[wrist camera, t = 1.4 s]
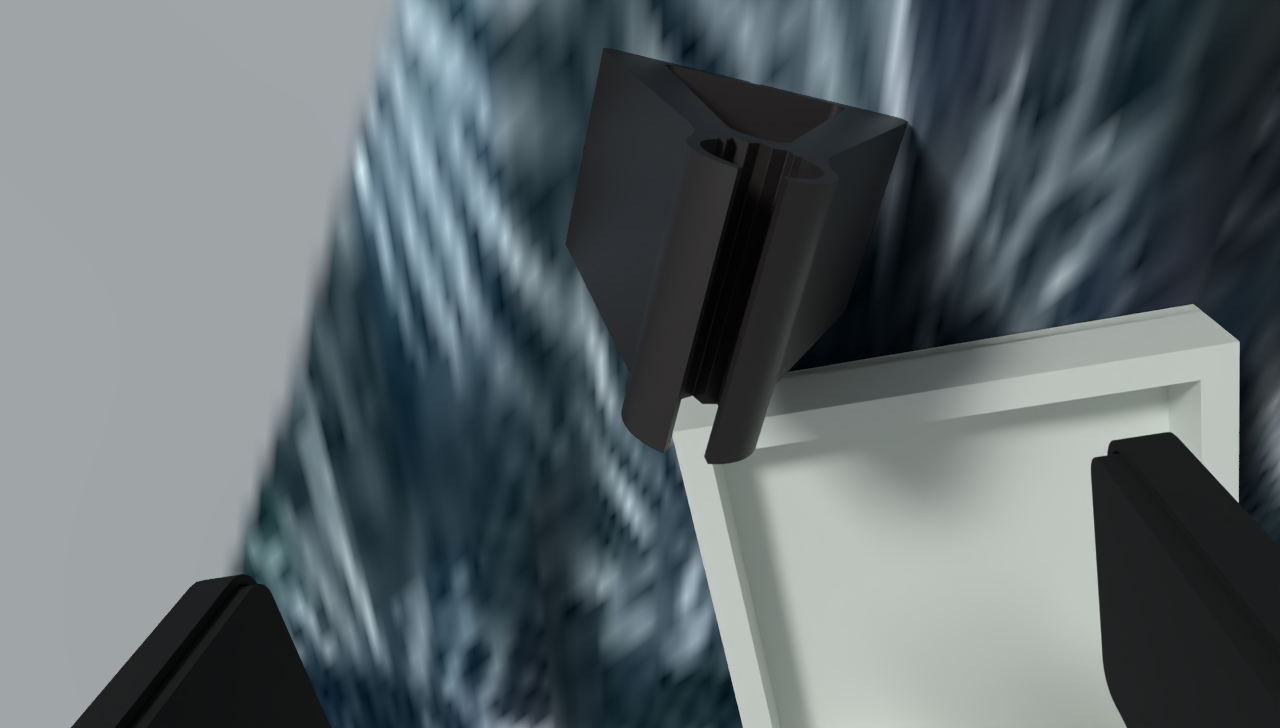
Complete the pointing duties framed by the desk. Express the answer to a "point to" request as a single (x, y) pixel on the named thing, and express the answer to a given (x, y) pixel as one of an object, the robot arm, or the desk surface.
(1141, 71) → the desk surface
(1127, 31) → the desk surface
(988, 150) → the desk surface
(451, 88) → the desk surface
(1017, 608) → the tray
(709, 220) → the phone stand
